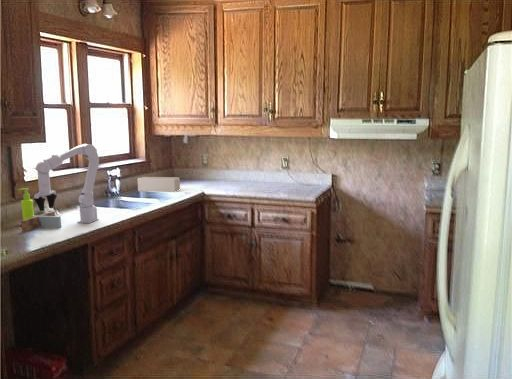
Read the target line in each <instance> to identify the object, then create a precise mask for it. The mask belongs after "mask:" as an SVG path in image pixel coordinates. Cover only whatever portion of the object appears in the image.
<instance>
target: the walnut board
mask: <svg viewBox="0 0 512 379" xmlns="http://www.w3.org/2000/svg"><path fill="white" fill-rule="evenodd" d="M38 216H56V213H55V211H49V212H45V213H42V214H39V215H38ZM20 225H21V233H27V232H30V231H32V230H36V229H39V228H42V227H41V222H39V218H38V217H32V218H29V219H25V220H23V219H22V220H20Z"/></svg>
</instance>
